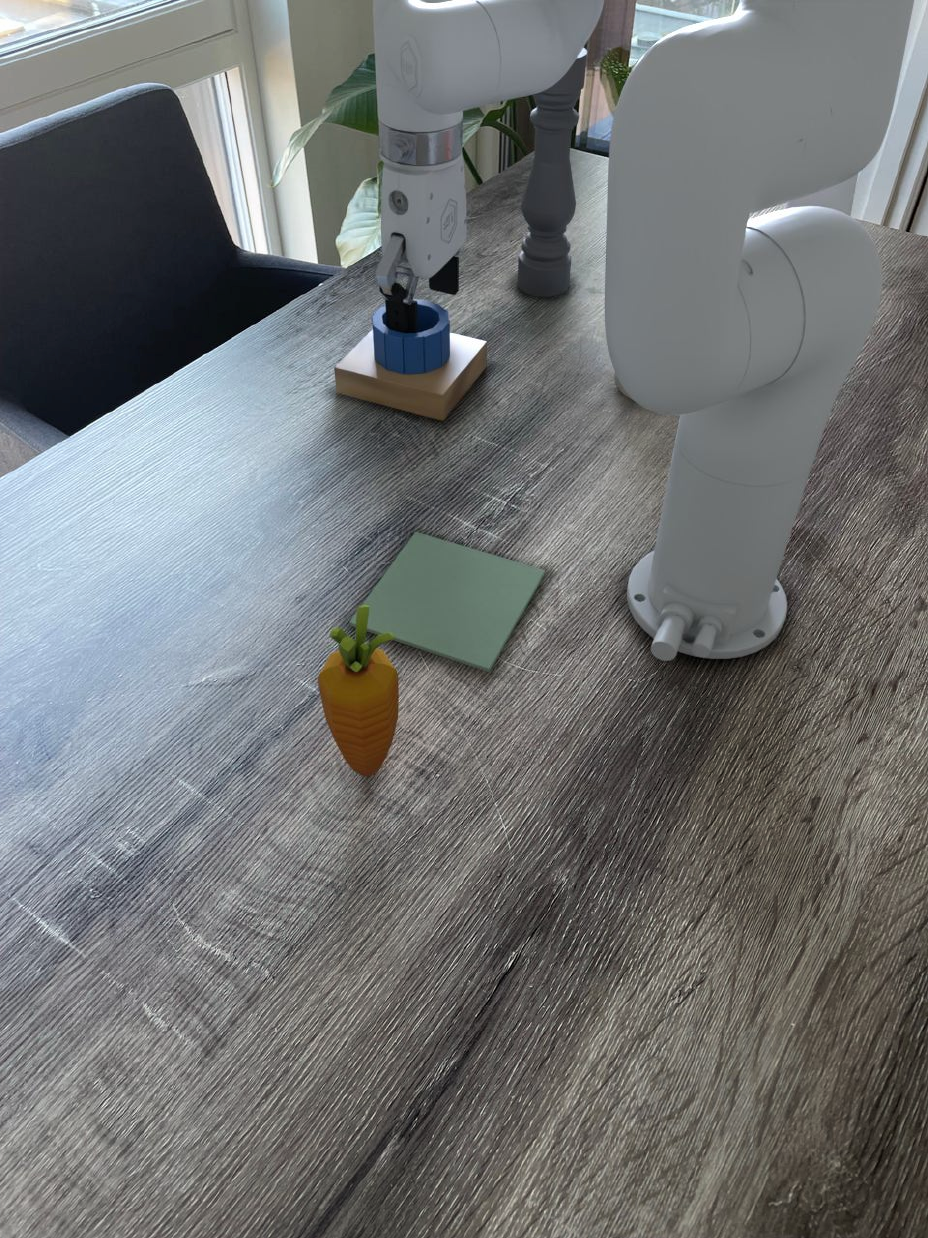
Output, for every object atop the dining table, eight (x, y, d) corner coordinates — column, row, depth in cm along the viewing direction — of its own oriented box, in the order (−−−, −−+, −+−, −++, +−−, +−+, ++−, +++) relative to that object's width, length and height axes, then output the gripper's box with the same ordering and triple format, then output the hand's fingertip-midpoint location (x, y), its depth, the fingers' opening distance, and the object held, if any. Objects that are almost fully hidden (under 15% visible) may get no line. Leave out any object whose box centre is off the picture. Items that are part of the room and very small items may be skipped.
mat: (489, 672, 75) (489, 669, 75) (349, 625, 79) (348, 622, 78) (545, 573, 83) (545, 570, 83) (415, 534, 86) (415, 531, 86)
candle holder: (508, 277, 119) (517, 45, 101) (553, 267, 121) (570, 38, 103) (532, 301, 115) (546, 63, 98) (579, 290, 117) (601, 55, 99)
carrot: (366, 733, 71) (351, 581, 61) (418, 770, 69) (412, 618, 58) (316, 777, 69) (291, 626, 58) (369, 817, 66) (353, 667, 56)
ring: (429, 381, 98) (429, 344, 95) (361, 363, 100) (358, 327, 97) (461, 344, 103) (461, 308, 100) (395, 328, 105) (393, 293, 102)
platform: (443, 421, 98) (442, 395, 96) (336, 393, 102) (333, 367, 100) (486, 366, 106) (487, 341, 103) (385, 341, 109) (384, 316, 107)
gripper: (416, 182, 83) (420, 363, 95) (496, 113, 94) (490, 283, 106) (336, 166, 85) (350, 345, 97) (424, 100, 96) (426, 268, 108)
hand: (423, 312), depth 102 cm, fingers open, 9 cm apart
